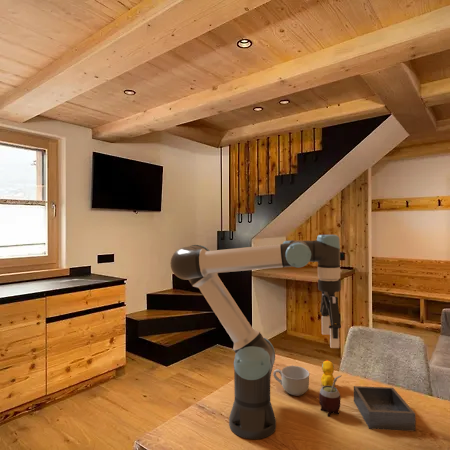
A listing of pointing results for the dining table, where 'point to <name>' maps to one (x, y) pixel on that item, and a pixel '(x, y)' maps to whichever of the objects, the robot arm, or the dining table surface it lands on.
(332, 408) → the mate gourd
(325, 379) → the duckling
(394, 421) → the tray
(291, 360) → the dining table surface
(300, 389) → the teacup
